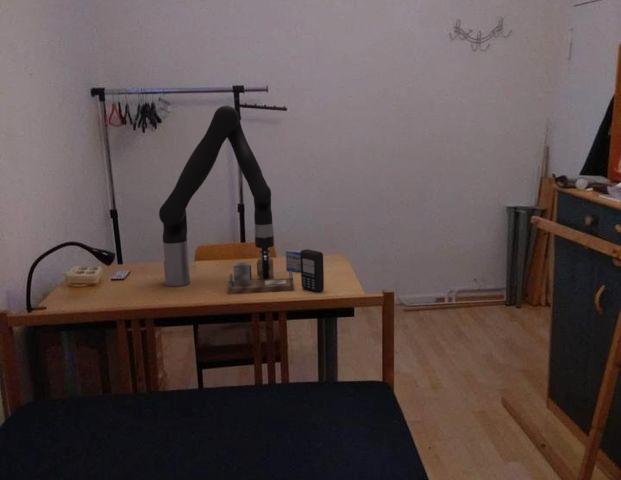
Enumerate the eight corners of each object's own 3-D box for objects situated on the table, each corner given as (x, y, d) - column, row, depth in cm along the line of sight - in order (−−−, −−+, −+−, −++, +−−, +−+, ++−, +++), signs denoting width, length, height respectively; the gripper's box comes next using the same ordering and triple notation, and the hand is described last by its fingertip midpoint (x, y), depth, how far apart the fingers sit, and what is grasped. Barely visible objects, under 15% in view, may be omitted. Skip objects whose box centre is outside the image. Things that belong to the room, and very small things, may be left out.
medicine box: (286, 271, 249) (285, 251, 247) (291, 268, 253) (290, 248, 251) (302, 272, 245) (301, 252, 243) (307, 270, 249) (306, 250, 247)
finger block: (257, 281, 235) (256, 261, 233) (257, 278, 239) (256, 259, 237) (273, 280, 236) (273, 261, 234) (273, 277, 239) (272, 258, 238)
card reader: (300, 288, 223) (298, 250, 220) (307, 286, 226) (306, 248, 222) (317, 293, 216) (316, 253, 213) (324, 291, 219) (323, 251, 216)
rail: (229, 294, 219) (227, 268, 217) (230, 286, 229) (228, 261, 227) (293, 290, 221) (292, 264, 219) (292, 283, 231) (291, 258, 229)
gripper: (254, 231, 240) (256, 272, 244) (254, 238, 226) (256, 281, 230) (273, 230, 241) (275, 271, 244) (274, 237, 227) (276, 280, 230)
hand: (266, 276), depth 237 cm, fingers closed on finger block, 4 cm apart
